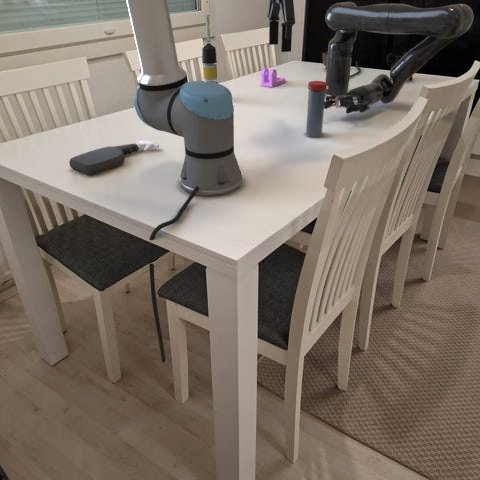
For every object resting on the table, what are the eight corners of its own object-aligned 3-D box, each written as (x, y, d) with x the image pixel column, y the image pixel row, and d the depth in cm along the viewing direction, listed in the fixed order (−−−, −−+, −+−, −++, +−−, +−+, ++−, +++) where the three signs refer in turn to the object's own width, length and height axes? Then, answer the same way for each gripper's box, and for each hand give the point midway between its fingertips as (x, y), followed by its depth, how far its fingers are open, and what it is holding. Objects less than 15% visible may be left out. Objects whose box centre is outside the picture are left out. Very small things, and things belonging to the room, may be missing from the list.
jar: (303, 133, 141) (306, 83, 133) (317, 131, 142) (321, 82, 134) (310, 138, 137) (313, 87, 129) (324, 136, 138) (328, 85, 130)
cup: (319, 70, 220) (320, 53, 216) (324, 67, 226) (325, 50, 221) (333, 71, 217) (335, 54, 213) (338, 69, 222) (340, 51, 218)
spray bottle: (67, 168, 120) (139, 144, 136) (91, 178, 114) (163, 151, 130) (65, 157, 118) (137, 134, 134) (89, 167, 112) (162, 142, 128)
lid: (305, 87, 134) (305, 81, 133) (321, 86, 135) (321, 80, 134) (312, 91, 130) (313, 85, 129) (329, 90, 131) (330, 84, 130)
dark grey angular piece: (400, 92, 202) (376, 71, 205) (417, 76, 202) (392, 56, 205) (405, 81, 191) (380, 59, 194) (423, 64, 191) (397, 42, 194)
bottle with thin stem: (220, 99, 177) (217, 15, 161) (206, 100, 176) (202, 16, 160) (215, 96, 182) (212, 14, 166) (202, 97, 180) (197, 14, 164)
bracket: (271, 87, 193) (272, 70, 189) (261, 85, 196) (261, 68, 192) (287, 81, 202) (288, 65, 198) (277, 79, 205) (277, 63, 201)
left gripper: (257, -36, 131) (257, 42, 142) (281, -36, 110) (278, 55, 122) (282, -37, 132) (280, 41, 144) (310, -37, 112) (305, 54, 123)
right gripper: (344, 83, 155) (318, 92, 145) (382, 89, 147) (356, 99, 137) (342, 105, 159) (316, 115, 149) (378, 112, 151) (353, 123, 141)
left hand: (279, 48), depth 133 cm, fingers open, 13 cm apart
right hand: (335, 107), depth 143 cm, fingers open, 8 cm apart
